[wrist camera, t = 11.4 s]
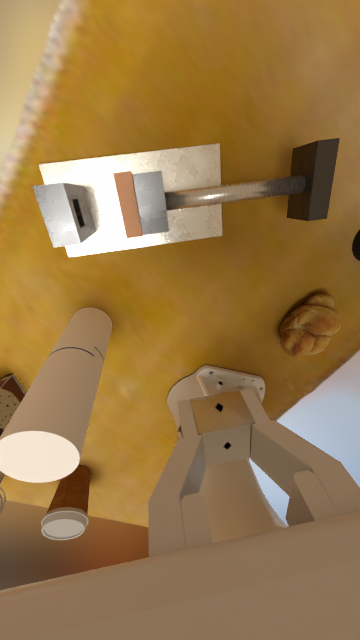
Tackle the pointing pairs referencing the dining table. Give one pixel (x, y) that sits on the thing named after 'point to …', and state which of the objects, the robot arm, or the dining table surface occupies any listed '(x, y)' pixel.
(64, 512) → the disposable coffee cup
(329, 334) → the bread roll
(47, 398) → the cylindrical container
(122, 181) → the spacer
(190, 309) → the dining table surface
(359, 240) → the wine bottle
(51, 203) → the shaft frame
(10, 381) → the food container
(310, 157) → the shaft
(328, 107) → the dining table surface
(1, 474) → the french press
